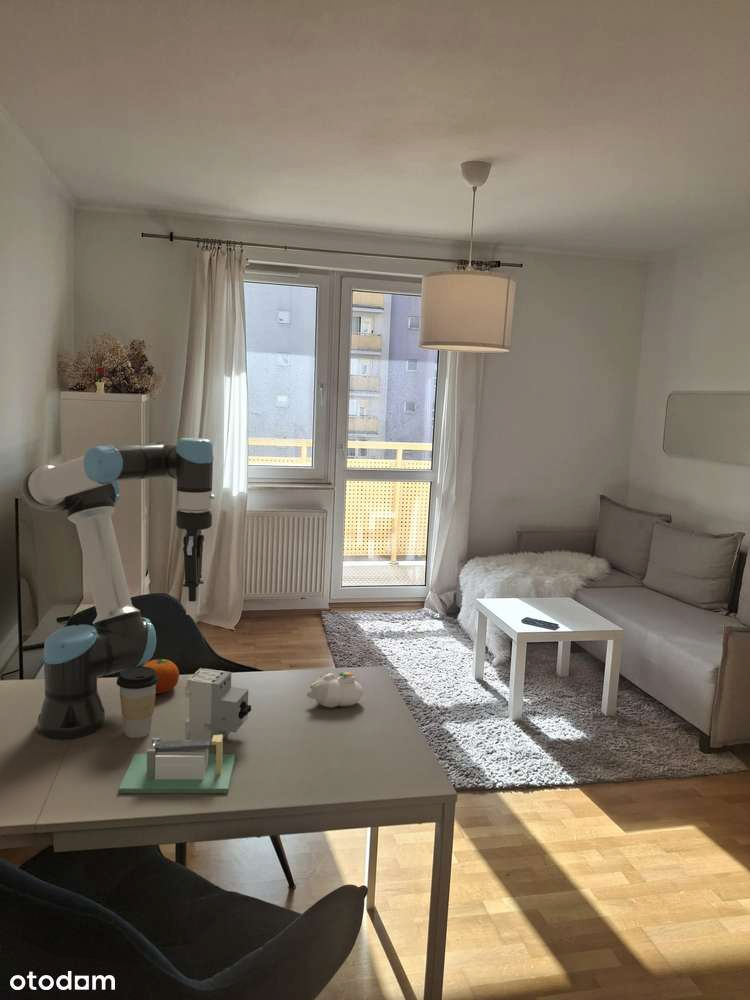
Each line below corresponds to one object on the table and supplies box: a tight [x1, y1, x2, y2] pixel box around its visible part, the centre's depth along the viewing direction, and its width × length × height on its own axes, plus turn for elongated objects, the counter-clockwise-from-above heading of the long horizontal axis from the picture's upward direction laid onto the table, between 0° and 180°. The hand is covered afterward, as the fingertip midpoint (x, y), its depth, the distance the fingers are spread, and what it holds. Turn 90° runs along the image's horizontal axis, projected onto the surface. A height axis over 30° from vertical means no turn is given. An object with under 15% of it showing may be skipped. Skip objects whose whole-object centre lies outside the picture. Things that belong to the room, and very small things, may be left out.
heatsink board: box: [118, 735, 236, 794], centre depth 157 cm, size 22×14×8 cm, turn 95°
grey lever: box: [149, 739, 212, 751], centre depth 157 cm, size 13×3×1 cm, turn 95°
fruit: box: [142, 658, 180, 694], centre depth 198 cm, size 11×10×8 cm
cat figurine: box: [306, 671, 364, 708], centre depth 195 cm, size 10×8×15 cm
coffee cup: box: [116, 665, 159, 739], centre depth 174 cm, size 9×9×15 cm
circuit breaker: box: [184, 667, 252, 745], centre depth 174 cm, size 8×14×15 cm, turn 78°
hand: (193, 613), depth 164 cm, fingers closed
